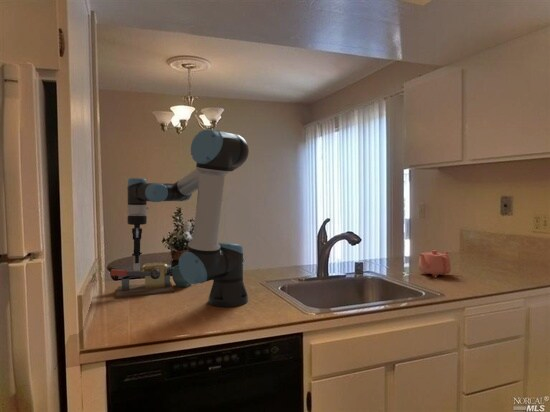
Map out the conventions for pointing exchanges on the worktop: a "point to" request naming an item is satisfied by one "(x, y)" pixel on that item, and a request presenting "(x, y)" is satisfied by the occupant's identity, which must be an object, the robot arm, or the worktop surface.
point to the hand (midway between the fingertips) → (136, 270)
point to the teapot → (434, 263)
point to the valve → (149, 282)
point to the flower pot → (179, 277)
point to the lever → (136, 273)
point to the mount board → (142, 291)
